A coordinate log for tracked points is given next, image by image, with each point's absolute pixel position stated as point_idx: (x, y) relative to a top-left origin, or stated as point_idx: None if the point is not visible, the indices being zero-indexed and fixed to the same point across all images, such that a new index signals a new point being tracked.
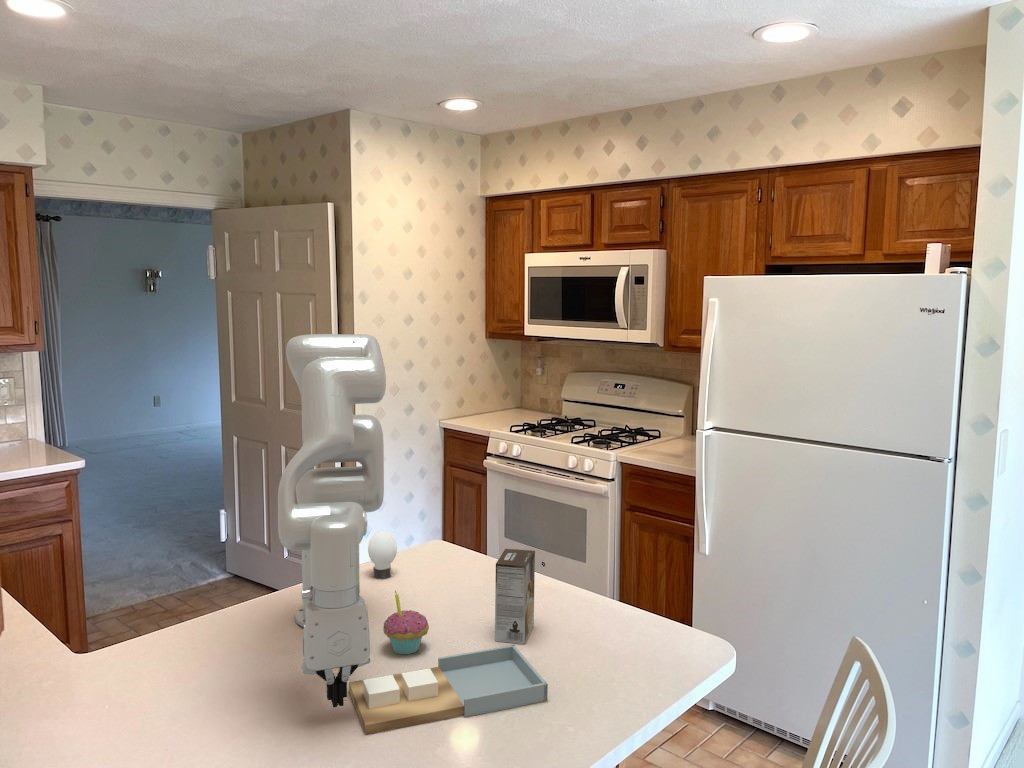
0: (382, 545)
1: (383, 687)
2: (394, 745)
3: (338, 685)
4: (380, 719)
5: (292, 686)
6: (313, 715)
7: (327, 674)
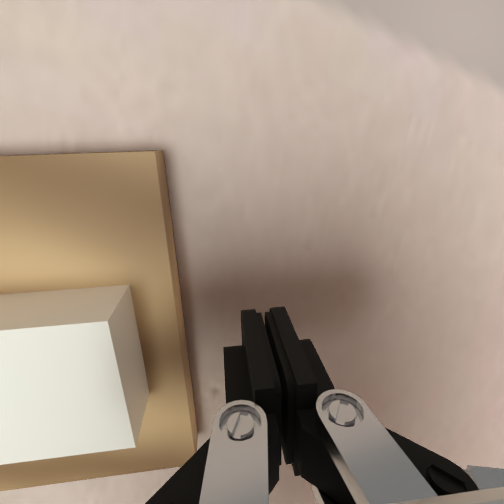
0: None
1: (22, 371)
2: (26, 8)
3: (278, 385)
4: (76, 180)
5: None
6: (328, 329)
7: (388, 454)
